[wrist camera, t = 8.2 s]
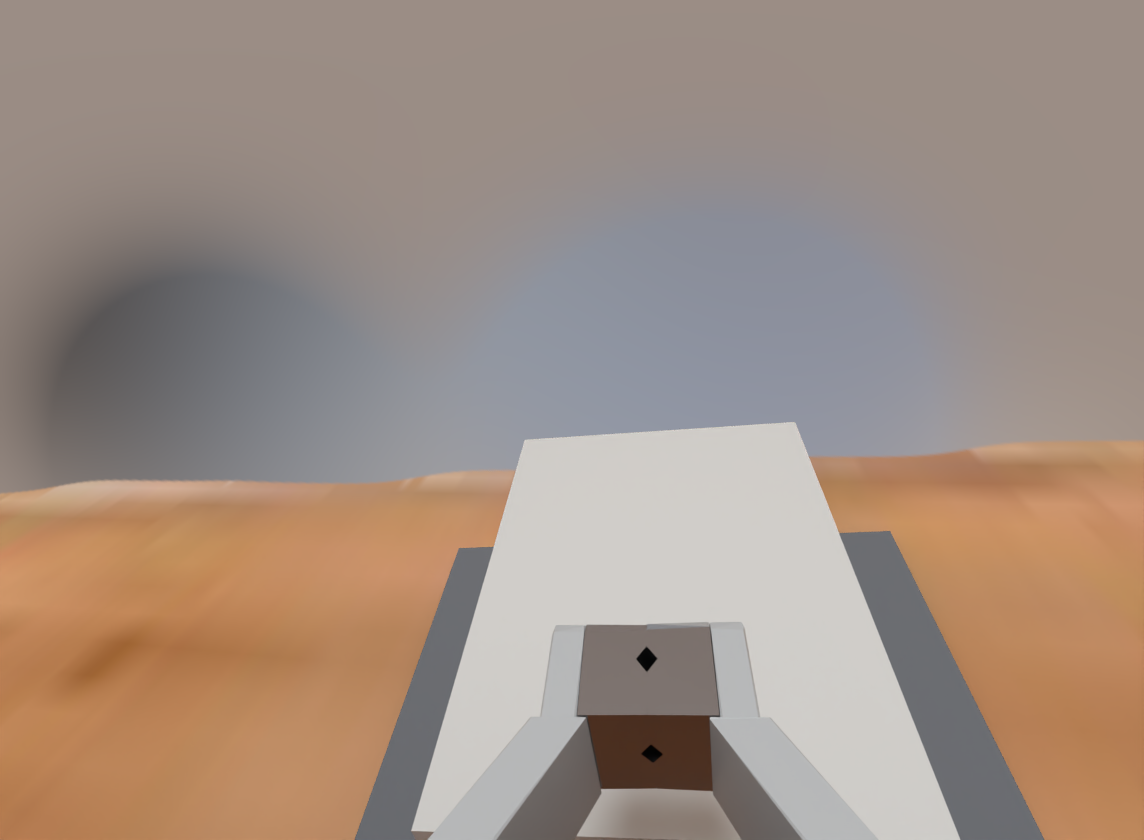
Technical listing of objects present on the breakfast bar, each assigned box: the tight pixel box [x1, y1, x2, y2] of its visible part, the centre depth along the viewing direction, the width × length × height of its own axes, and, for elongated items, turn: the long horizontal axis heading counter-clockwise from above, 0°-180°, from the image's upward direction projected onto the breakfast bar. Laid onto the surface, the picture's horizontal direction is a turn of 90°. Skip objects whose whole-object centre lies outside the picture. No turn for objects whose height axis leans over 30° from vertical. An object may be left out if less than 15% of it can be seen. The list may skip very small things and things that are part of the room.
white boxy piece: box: [411, 422, 960, 840], centre depth 18 cm, size 10×4×14 cm
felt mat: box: [355, 531, 1044, 840], centre depth 17 cm, size 16×16×1 cm
